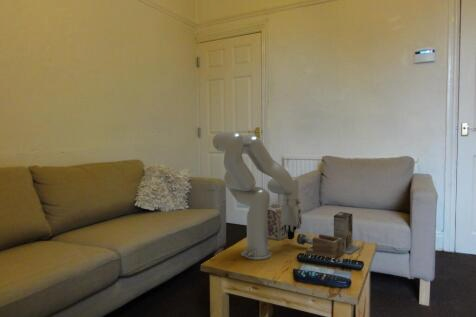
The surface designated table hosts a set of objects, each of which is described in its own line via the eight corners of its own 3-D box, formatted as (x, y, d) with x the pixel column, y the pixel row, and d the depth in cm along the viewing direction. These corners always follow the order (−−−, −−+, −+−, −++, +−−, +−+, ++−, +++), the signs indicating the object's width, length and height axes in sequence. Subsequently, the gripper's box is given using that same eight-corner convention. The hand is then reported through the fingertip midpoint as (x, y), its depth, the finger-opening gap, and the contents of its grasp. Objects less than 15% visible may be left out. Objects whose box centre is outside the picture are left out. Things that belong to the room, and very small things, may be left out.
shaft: (322, 250, 159) (322, 240, 159) (296, 244, 168) (296, 235, 168) (327, 247, 163) (327, 237, 163) (301, 242, 172) (301, 232, 171)
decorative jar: (279, 241, 181) (279, 206, 180) (260, 237, 188) (260, 204, 187) (290, 235, 191) (290, 203, 190) (272, 232, 198) (272, 200, 197)
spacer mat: (350, 254, 160) (350, 253, 160) (326, 249, 167) (326, 248, 167) (360, 247, 169) (360, 246, 169) (336, 243, 177) (336, 241, 177)
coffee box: (339, 243, 174) (340, 211, 173) (352, 246, 170) (353, 213, 169) (333, 248, 166) (333, 215, 165) (346, 251, 163) (346, 217, 161)
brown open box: (333, 259, 153) (334, 243, 153) (305, 253, 162) (305, 237, 162) (343, 253, 161) (343, 237, 160) (315, 247, 170) (315, 232, 169)
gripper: (308, 202, 170) (308, 239, 171) (282, 199, 179) (282, 234, 181) (300, 205, 164) (300, 243, 165) (273, 201, 174) (274, 237, 175)
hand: (290, 238), depth 173 cm, fingers closed
